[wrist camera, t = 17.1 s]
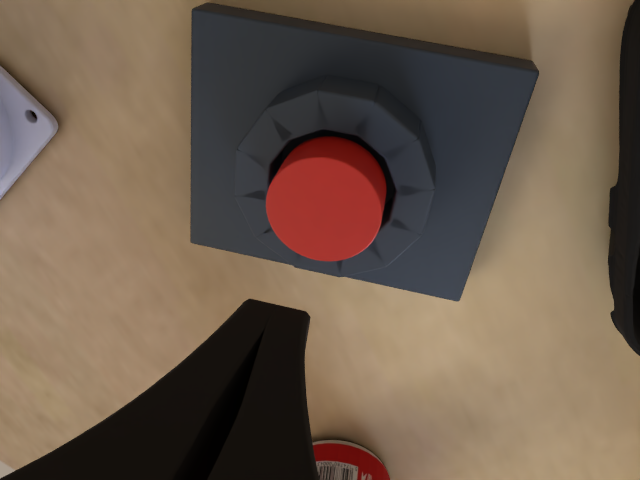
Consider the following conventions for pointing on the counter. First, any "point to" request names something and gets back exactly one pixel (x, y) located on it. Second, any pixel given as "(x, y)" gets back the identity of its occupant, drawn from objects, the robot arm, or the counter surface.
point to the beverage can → (347, 462)
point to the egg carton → (627, 191)
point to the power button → (327, 199)
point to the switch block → (352, 137)
